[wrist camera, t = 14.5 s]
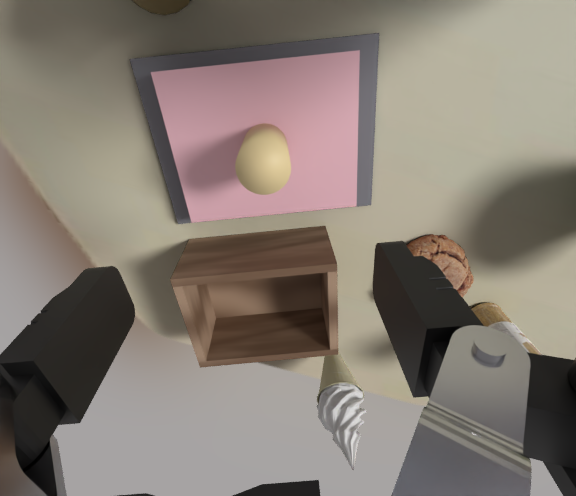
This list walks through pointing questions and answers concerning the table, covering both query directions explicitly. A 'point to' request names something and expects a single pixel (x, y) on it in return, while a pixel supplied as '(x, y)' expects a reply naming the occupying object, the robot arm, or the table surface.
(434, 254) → the cookie
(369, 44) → the mat
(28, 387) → the robot arm
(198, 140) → the lid
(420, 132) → the table surface
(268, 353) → the box
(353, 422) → the ice cream cone
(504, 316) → the sprinkles bottle
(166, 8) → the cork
